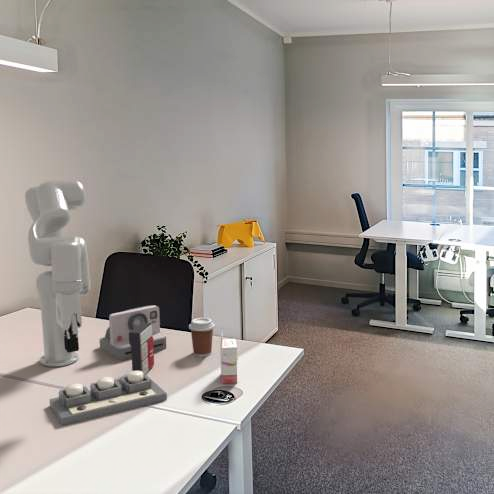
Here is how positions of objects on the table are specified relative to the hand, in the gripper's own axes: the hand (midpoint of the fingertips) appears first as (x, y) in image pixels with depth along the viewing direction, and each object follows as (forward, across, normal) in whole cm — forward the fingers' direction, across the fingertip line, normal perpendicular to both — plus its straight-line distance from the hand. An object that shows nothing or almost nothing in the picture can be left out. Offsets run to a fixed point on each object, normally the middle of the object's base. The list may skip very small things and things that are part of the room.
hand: (71, 349), depth 165 cm
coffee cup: (+17, -20, +50) cm, 57 cm away
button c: (+13, 0, +18) cm, 22 cm away
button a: (+13, 0, 0) cm, 13 cm away
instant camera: (+18, -39, +31) cm, 53 cm away
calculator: (+17, -15, +26) cm, 35 cm away
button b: (+13, 0, +9) cm, 16 cm away
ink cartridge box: (+17, +5, +47) cm, 50 cm away
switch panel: (+17, +2, +9) cm, 19 cm away
